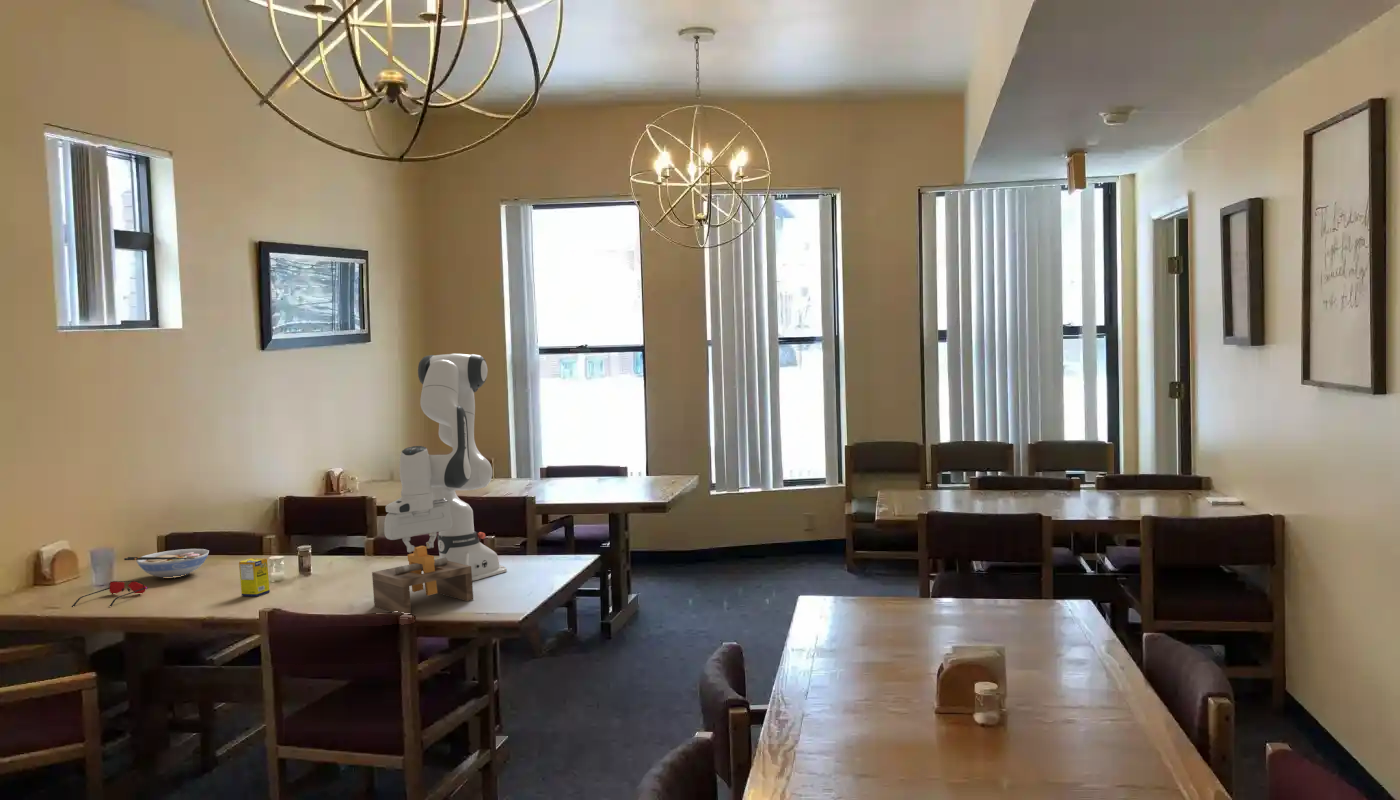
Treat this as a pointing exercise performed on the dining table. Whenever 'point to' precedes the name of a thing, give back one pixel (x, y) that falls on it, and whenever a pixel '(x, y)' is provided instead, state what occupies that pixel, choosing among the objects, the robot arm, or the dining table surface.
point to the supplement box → (254, 577)
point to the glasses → (121, 589)
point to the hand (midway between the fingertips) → (420, 550)
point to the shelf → (396, 581)
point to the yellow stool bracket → (428, 566)
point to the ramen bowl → (172, 562)
